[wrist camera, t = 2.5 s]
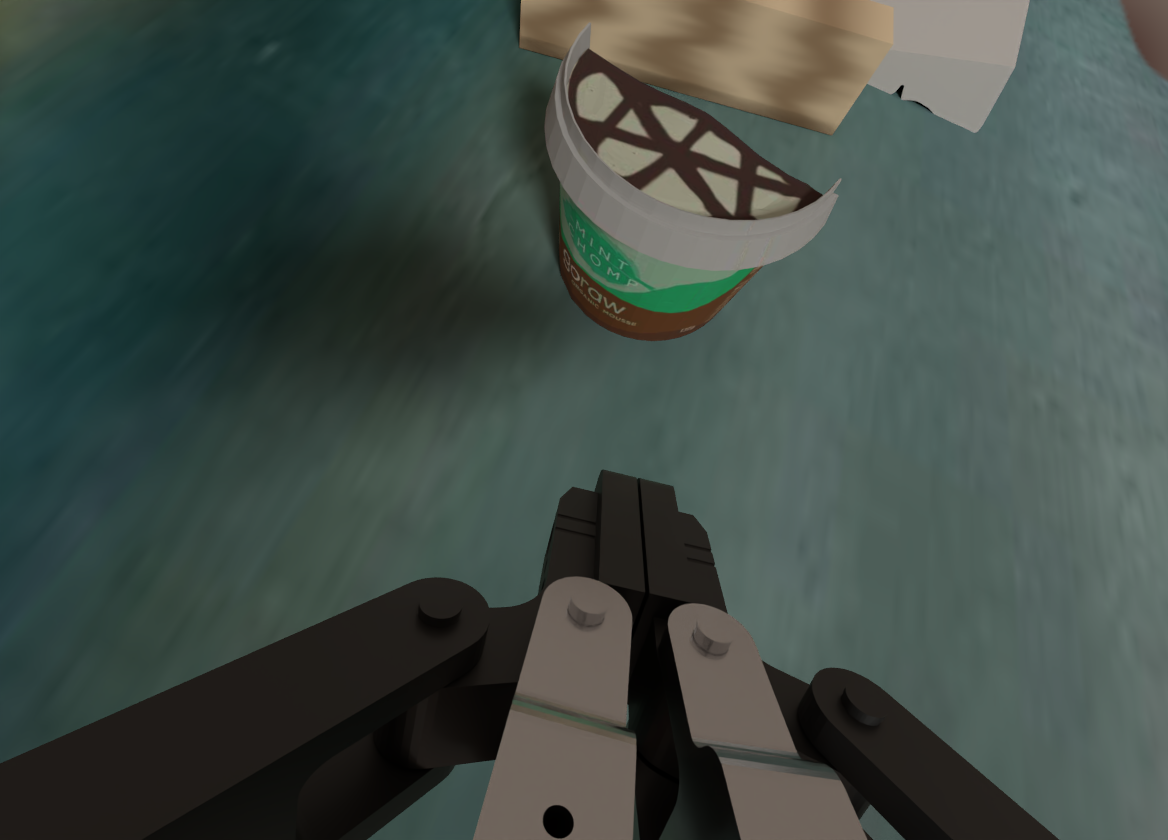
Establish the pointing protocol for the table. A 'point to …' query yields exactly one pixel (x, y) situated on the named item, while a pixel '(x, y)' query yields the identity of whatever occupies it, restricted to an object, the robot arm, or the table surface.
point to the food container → (661, 202)
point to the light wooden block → (730, 49)
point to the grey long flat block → (952, 55)
